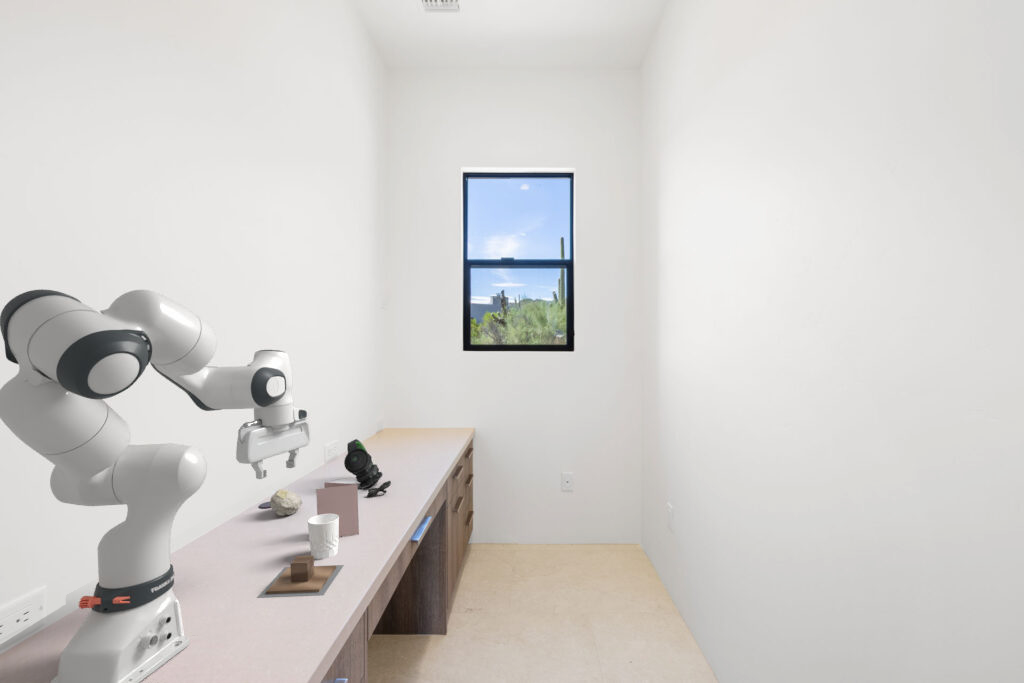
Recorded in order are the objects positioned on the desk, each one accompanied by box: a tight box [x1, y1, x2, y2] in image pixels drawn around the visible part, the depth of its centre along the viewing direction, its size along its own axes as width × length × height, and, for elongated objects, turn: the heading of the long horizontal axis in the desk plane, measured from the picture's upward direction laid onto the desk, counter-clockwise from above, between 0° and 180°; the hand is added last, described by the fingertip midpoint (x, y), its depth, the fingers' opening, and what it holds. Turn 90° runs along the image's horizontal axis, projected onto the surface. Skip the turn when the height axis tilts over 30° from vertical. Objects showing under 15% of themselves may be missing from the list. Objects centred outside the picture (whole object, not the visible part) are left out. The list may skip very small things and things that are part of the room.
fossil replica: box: [269, 488, 303, 517], centre depth 171 cm, size 12×8×10 cm
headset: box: [343, 438, 392, 498], centre depth 197 cm, size 18×14×29 cm
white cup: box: [307, 514, 340, 560], centre depth 136 cm, size 8×8×10 cm
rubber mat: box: [256, 564, 344, 599], centre depth 121 cm, size 15×15×1 cm
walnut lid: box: [266, 554, 336, 594], centre depth 121 cm, size 12×12×5 cm
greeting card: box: [315, 481, 360, 538], centre depth 149 cm, size 11×7×15 cm, turn 74°
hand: (276, 472), depth 123 cm, fingers open, 8 cm apart
